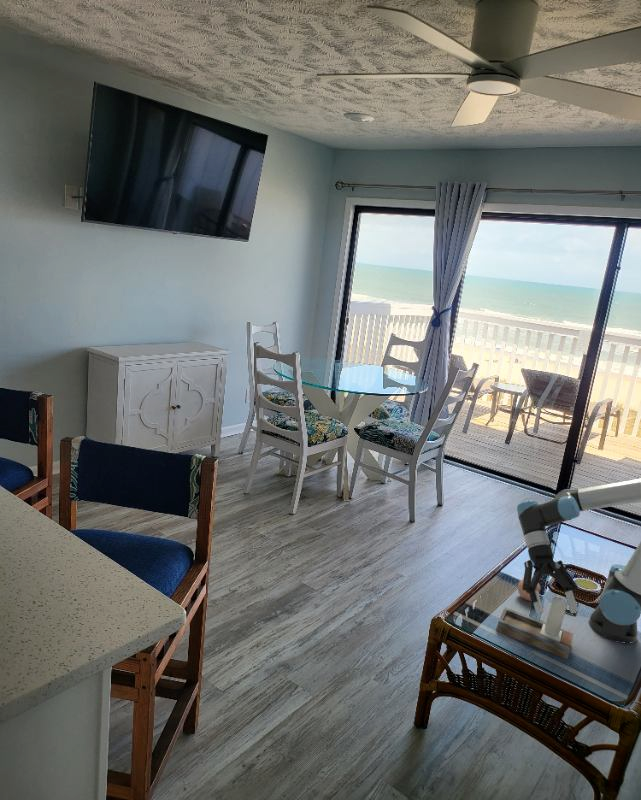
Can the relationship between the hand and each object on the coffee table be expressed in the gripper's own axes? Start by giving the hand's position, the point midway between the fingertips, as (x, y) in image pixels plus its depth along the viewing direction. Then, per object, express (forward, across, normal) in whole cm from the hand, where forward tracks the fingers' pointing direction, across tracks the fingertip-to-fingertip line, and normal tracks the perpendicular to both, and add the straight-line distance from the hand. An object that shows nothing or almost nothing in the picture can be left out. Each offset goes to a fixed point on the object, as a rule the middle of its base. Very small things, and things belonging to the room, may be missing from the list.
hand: (557, 612), depth 193 cm
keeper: (+6, 0, -6) cm, 9 cm away
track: (+5, +4, -10) cm, 12 cm away
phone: (-8, -26, -24) cm, 36 cm away
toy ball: (-10, -11, -26) cm, 30 cm away
